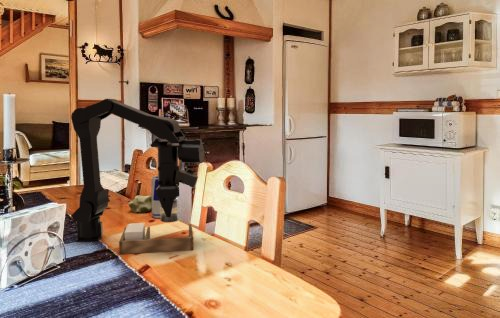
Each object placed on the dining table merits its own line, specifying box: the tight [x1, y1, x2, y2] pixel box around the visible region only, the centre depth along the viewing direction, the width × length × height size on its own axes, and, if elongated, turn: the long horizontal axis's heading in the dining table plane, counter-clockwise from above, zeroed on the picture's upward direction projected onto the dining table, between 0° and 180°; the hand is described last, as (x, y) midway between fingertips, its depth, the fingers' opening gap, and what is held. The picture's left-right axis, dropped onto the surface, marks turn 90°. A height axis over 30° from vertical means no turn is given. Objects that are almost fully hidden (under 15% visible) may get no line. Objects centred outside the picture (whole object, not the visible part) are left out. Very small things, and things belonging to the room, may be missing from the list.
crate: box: [118, 223, 194, 255], centre depth 119 cm, size 20×14×4 cm
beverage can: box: [150, 175, 161, 219], centre depth 149 cm, size 5×5×15 cm
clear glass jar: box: [160, 198, 179, 223], centre depth 119 cm, size 5×5×6 cm
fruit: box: [127, 194, 152, 214], centre depth 158 cm, size 9×9×8 cm
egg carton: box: [125, 222, 146, 241], centre depth 118 cm, size 5×9×6 cm, turn 10°
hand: (168, 214), depth 120 cm, fingers closed on clear glass jar, 5 cm apart
